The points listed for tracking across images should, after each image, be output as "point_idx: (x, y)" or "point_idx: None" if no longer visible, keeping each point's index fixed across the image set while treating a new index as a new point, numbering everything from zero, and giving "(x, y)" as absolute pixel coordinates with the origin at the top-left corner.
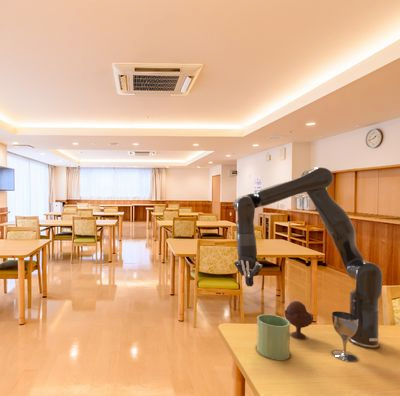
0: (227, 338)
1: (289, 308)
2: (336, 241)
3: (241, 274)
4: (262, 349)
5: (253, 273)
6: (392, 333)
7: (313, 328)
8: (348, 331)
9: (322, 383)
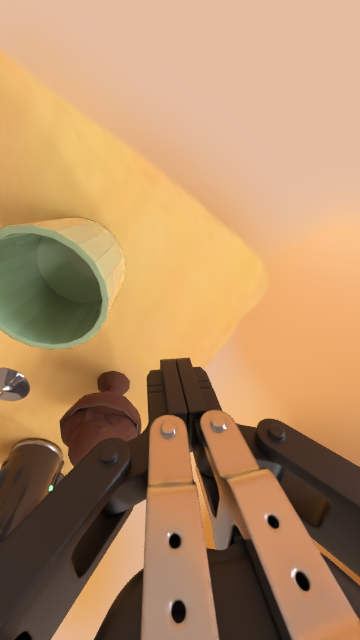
0: (206, 211)
1: (109, 428)
2: None
3: (271, 420)
4: (74, 218)
5: (80, 484)
6: None
7: None
8: None
9: None
